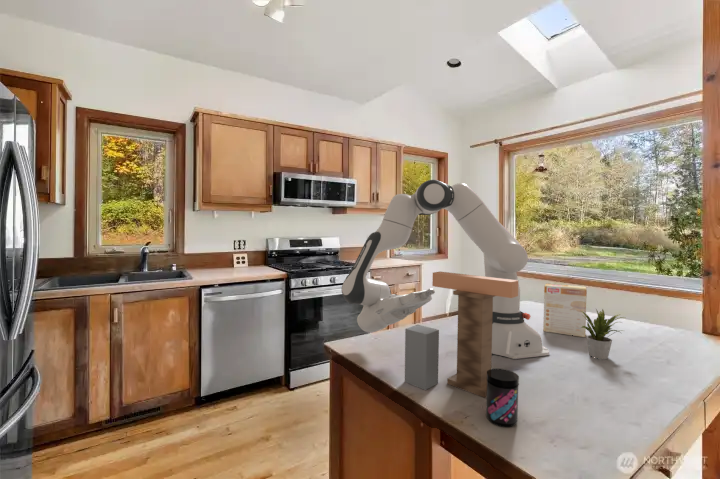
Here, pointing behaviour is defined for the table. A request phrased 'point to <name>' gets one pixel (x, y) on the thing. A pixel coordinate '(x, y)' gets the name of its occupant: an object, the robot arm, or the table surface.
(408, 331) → the slate pillar
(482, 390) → the walnut tower
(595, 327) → the house plant
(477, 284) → the terracotta beam
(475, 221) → the robot arm
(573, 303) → the coffeecake box
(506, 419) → the supplement container
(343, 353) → the table surface
